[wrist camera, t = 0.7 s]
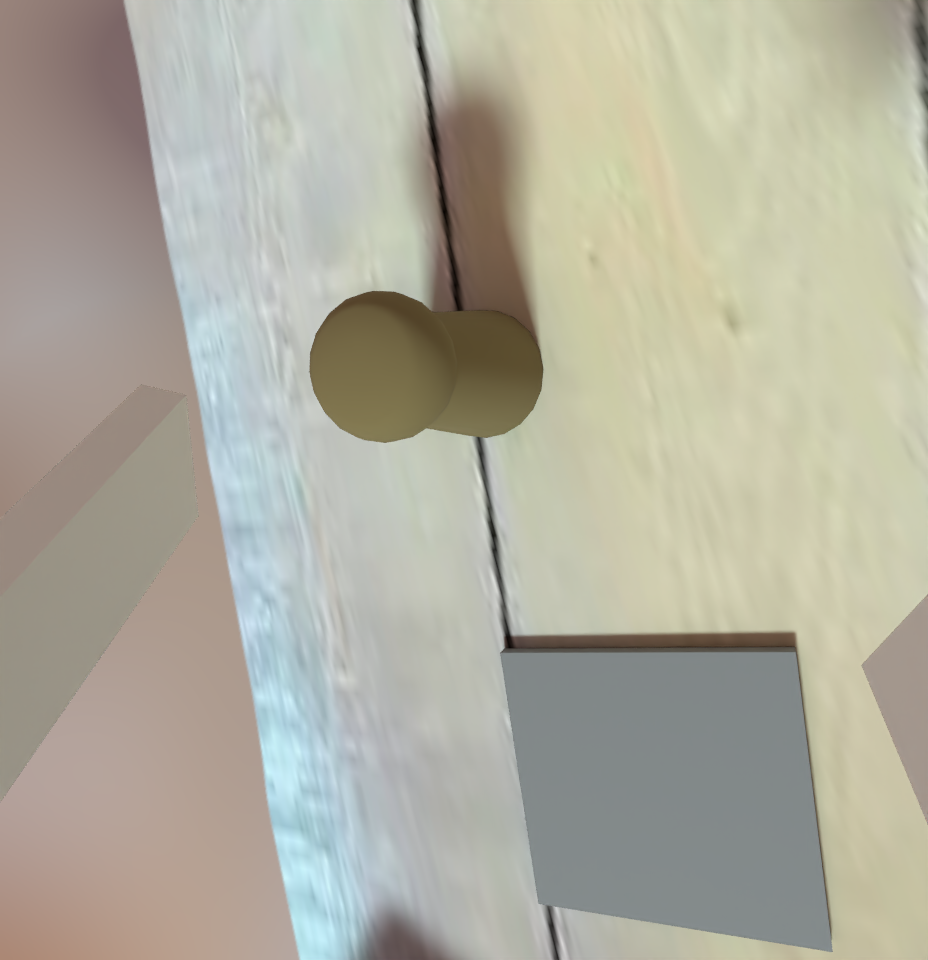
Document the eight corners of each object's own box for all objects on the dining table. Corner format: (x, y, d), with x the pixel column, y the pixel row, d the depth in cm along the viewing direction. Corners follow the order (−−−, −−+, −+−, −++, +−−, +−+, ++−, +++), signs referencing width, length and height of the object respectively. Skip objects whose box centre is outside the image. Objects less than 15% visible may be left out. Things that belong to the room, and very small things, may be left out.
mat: (795, 646, 27) (795, 652, 27) (830, 941, 28) (832, 952, 28) (504, 648, 33) (500, 652, 32) (541, 895, 33) (538, 903, 33)
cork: (440, 298, 32) (296, 255, 22) (557, 324, 30) (457, 289, 20) (415, 419, 33) (269, 431, 23) (525, 452, 31) (416, 480, 21)
